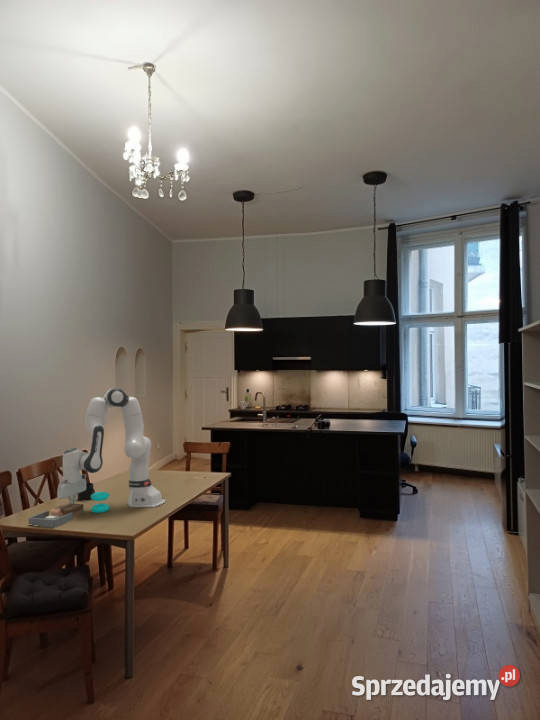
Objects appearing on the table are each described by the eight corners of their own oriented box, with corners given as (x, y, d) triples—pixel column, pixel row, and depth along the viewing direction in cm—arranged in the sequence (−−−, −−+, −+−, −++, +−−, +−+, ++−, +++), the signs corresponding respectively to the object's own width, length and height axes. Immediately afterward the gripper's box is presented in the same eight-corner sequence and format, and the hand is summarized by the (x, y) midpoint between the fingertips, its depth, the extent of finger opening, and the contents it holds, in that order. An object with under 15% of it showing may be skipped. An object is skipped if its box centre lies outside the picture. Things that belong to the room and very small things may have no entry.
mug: (89, 501, 317) (89, 487, 317) (74, 500, 322) (73, 485, 322) (100, 497, 326) (99, 483, 326) (84, 496, 330) (84, 482, 330)
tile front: (52, 518, 275) (52, 522, 275) (59, 515, 279) (59, 519, 279) (45, 517, 276) (45, 521, 276) (51, 514, 281) (52, 518, 281)
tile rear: (60, 508, 280) (57, 511, 278) (63, 515, 282) (61, 518, 280) (52, 508, 282) (50, 511, 280) (56, 515, 284) (53, 518, 282)
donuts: (97, 490, 303) (112, 491, 300) (97, 508, 303) (112, 509, 300) (86, 495, 293) (102, 496, 290) (87, 513, 293) (102, 514, 290)
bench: (83, 513, 293) (83, 504, 293) (68, 519, 282) (68, 510, 282) (67, 511, 297) (67, 502, 297) (52, 517, 285) (52, 508, 285)
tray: (72, 520, 280) (72, 512, 280) (54, 528, 267) (53, 520, 267) (47, 517, 286) (47, 510, 286) (28, 525, 273) (28, 517, 273)
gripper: (63, 482, 281) (64, 508, 281) (87, 474, 300) (88, 498, 300) (53, 482, 283) (54, 507, 283) (78, 474, 302) (79, 497, 302)
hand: (72, 502), depth 292 cm, fingers closed
